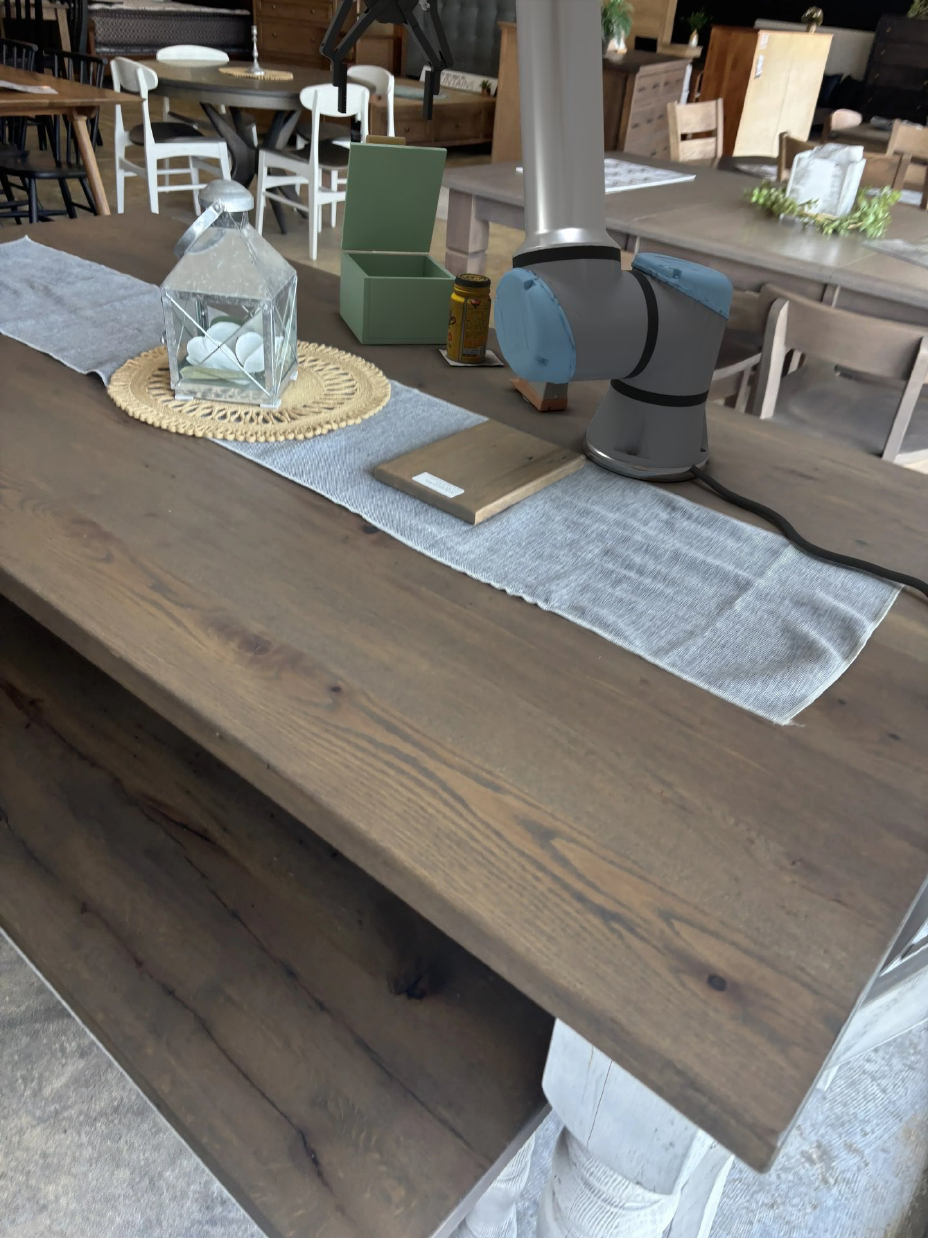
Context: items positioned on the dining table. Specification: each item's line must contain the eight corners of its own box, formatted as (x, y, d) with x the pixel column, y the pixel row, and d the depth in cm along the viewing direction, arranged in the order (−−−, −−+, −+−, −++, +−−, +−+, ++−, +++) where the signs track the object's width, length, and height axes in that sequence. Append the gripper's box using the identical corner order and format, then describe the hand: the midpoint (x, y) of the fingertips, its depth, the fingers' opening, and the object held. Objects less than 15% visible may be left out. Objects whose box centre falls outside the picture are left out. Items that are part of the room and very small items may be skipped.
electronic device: (535, 385, 131) (542, 333, 127) (568, 410, 124) (577, 356, 120) (508, 387, 129) (514, 334, 125) (540, 413, 122) (548, 358, 118)
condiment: (438, 350, 140) (445, 269, 134) (490, 351, 142) (499, 271, 136) (450, 366, 134) (457, 283, 128) (504, 366, 137) (514, 284, 130)
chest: (453, 343, 144) (458, 279, 138) (361, 344, 139) (364, 277, 134) (424, 314, 156) (428, 254, 150) (339, 314, 151) (340, 251, 146)
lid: (447, 150, 137) (432, 123, 142) (351, 144, 133) (339, 116, 138) (429, 252, 150) (416, 224, 155) (341, 250, 145) (330, 221, 150)
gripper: (466, -43, 136) (453, 118, 147) (299, -66, 128) (300, 106, 139) (483, -43, 130) (468, 124, 142) (309, -68, 122) (309, 112, 134)
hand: (385, 116), depth 140 cm, fingers open, 13 cm apart
